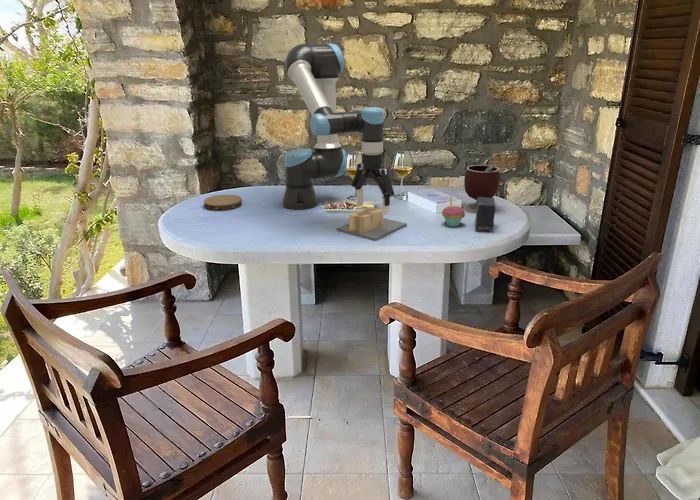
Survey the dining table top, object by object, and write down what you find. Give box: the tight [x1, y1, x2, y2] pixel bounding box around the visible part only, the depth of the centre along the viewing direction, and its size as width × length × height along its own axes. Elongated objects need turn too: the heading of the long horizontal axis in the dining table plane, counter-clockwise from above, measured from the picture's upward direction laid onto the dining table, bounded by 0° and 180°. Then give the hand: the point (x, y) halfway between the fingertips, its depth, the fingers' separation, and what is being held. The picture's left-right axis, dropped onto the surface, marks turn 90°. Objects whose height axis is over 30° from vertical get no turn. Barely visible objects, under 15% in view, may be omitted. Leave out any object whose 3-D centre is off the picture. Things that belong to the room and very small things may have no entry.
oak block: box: [348, 206, 384, 234], centre depth 191 cm, size 6×6×12 cm
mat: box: [336, 217, 408, 242], centre depth 194 cm, size 18×20×1 cm
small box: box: [474, 197, 496, 233], centre depth 192 cm, size 11×6×10 cm, turn 168°
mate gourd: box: [463, 164, 501, 214], centre depth 211 cm, size 16×14×20 cm
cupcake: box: [441, 194, 466, 227], centre depth 195 cm, size 9×8×12 cm
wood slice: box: [203, 194, 243, 212], centre depth 223 cm, size 16×16×3 cm
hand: (372, 209), depth 192 cm, fingers open, 13 cm apart
